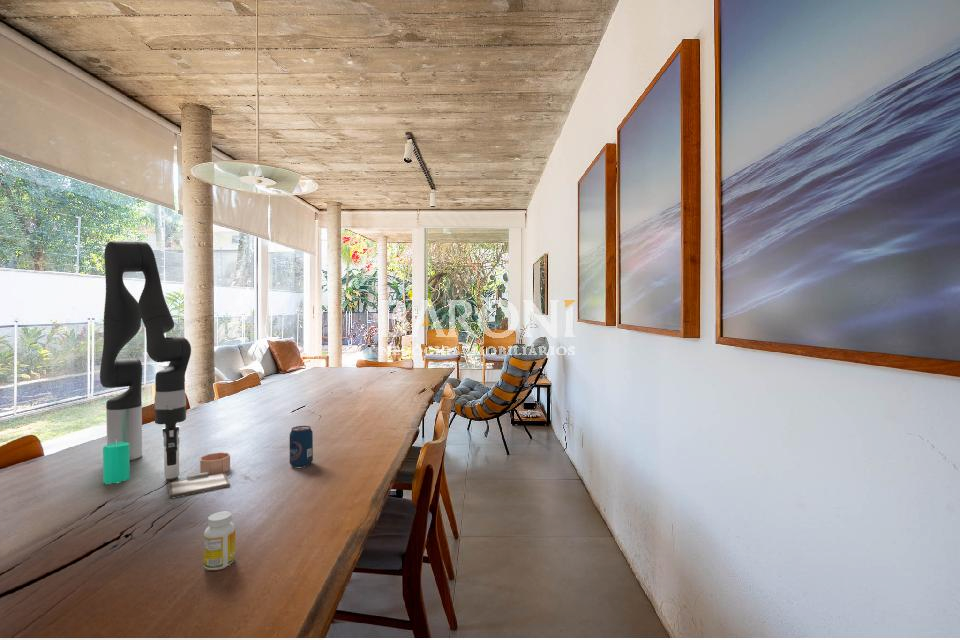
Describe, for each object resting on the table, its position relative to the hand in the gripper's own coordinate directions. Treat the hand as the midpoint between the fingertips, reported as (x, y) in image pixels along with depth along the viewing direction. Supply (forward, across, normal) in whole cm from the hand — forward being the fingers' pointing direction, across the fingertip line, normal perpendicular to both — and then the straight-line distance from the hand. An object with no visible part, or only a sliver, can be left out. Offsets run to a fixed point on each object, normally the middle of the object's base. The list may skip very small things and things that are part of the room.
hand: (171, 460), depth 130 cm
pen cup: (+6, -1, +11) cm, 13 cm away
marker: (+6, 0, 0) cm, 6 cm away
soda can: (+6, +8, +34) cm, 36 cm away
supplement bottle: (+6, +58, +6) cm, 58 cm away
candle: (+6, -9, -13) cm, 17 cm away
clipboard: (+6, +10, +6) cm, 13 cm away
